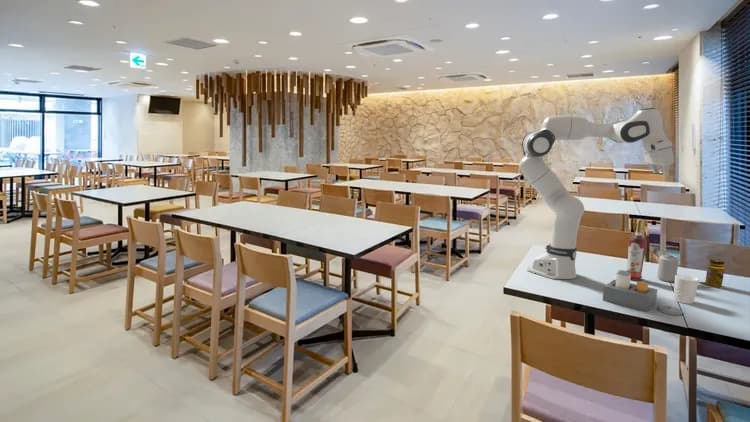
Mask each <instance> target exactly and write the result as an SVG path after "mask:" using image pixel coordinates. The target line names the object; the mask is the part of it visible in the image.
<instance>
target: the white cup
mask: <svg viewBox="0 0 750 422" xmlns="http://www.w3.org/2000/svg"><path fill="white" fill-rule="evenodd" d="M698 281H699V278H698V277H695V276H693V275H687V274H677V275H675V281H674V286H673V287H674V288H673V300H674V301H676V302H678V303H681V304H687V305H690V304H694V301H695V298H696V294H697V289H698V285H699V283H698ZM699 282H700V281H699Z"/></svg>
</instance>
